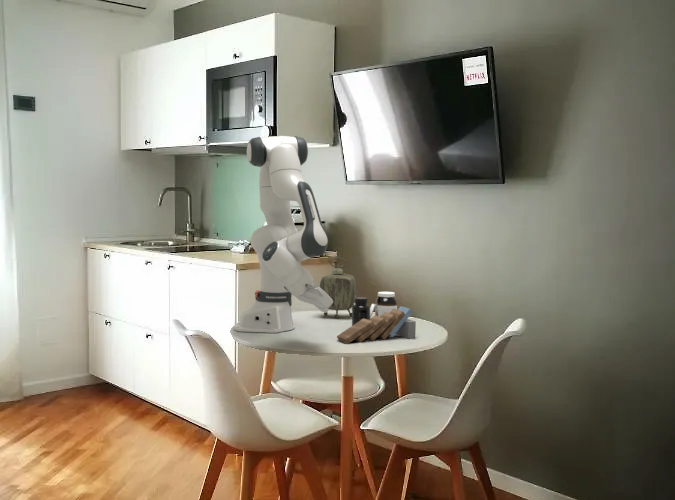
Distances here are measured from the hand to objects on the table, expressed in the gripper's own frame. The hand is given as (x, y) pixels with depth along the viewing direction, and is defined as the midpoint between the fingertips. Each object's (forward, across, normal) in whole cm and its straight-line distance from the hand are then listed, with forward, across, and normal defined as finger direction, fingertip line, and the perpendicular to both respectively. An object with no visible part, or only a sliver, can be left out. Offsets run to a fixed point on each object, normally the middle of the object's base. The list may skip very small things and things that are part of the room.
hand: (325, 310), depth 228 cm
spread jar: (+37, +28, -21) cm, 51 cm away
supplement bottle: (+25, +16, -9) cm, 31 cm away
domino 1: (+12, 0, +3) cm, 12 cm away
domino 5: (+24, 0, -10) cm, 27 cm away
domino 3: (+19, 0, -4) cm, 20 cm away
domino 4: (+23, 0, -8) cm, 24 cm away
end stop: (+31, 0, -15) cm, 34 cm away
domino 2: (+16, 0, -1) cm, 16 cm away
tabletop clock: (+29, +43, -12) cm, 53 cm away
